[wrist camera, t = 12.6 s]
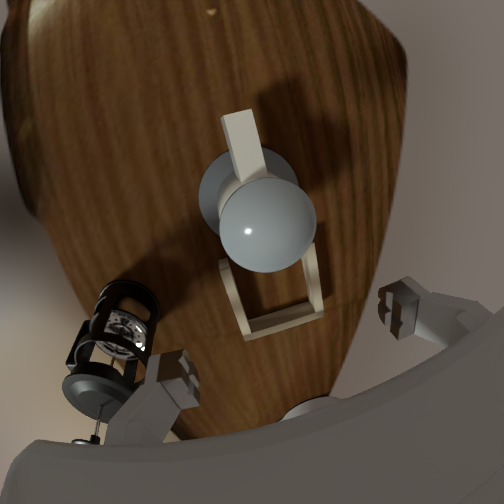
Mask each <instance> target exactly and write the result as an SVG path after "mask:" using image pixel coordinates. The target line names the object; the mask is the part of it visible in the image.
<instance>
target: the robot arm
mask: <svg viewBox="0 0 504 504" xmlns="http://www.w3.org/2000/svg"><path fill="white" fill-rule="evenodd" d="M378 297H379V298H380V299H381V301H380V302H379V304H378V313H379V317H380V319H381V321H382V322H383V323H384V325H387V326H389V327H390V332H391V333H392V334H393V335H394V336H395V338H396V339H397V340H401V339H402V338H405V337H407V336H409V335H411V334H413V333H414V334H415V335H417V336H420V337H422V338H425V339H427V340H429V341H432V342H434V343H436V344H439V345H441V346H444V347H446V348H445V349H444V350H442V351H441V352H439V353H438V354H436V355H434V356H433V357H431V358H429V359H427V360H426V361H424V362H422V363H420V364H419V365H417V366H415V367H413V368H411V369H409V370H407V371H406V372H404V373H402V374H400V375H398V376H396V377H394V378H392V379H390V380H388V381H386V382H384V383H382V384H379V385H377V386H375V387H373V388H371V389H368V390H367V391H364V392H362V393H359V394H357V395H355V396H352V397H350V398H347V399H339V398H336V397H320V398H316V399H312V400H309V401H307V402H304V403H302V404H300V405H298V406H296V407H295V408H293V409H292V410H290V411H289V412H288V413H287V414H286V415H285V416H284V418H283V419H282V420H280V421H278V422H276V423H273V424H269V425H265V426H261V427H257V428H253V429H248V430H244V431H239V432H235V433H230V434H224V435H219V436H213V437H207V438H201V439H194V440H186V441H177V442H169V443H163V440H164V439H165V437H166V435H167V434H168V432H169V430H170V428H171V427H172V425H173V423H174V421H175V420H176V418H177V416H178V415H179V413H180V411H181V410H180V409H185V408H191V407H196V406H200V393H199V391H198V389H197V387H198V386H199V376H198V372H197V369H196V367H195V365H194V363H192V362H190V361H189V354H188V352H187V351H186V350H185V349H182V350H177V351H172V352H167V353H162V354H157V355H152V356H150V357H149V360H148V365H147V371H146V376H145V382H144V385H141V386H140V387H139V388H138V389H137V390H136V391H135V392H134V394H133V395H132V396H131V397H130V398H129V399H128V400H127V401H126V403H125V404H124V405H123V406H122V407H121V408H120V409H119V411H118V412H117V413H116V414H115V415H114V416H113V417H112V418H111V420H110V421H109V422H108V426H107V431H106V436H105V442H104V445H92V444H75V443H63V442H54V441H47V440H35V441H34V442H32V443H31V444H30V445H28V446H27V447H26V448H25V449H24V450H23V451H22V452H21V453H20V454H19V455H18V456H17V457H16V458H15V459H14V460H13V462H12V464H11V465H10V468H9V470H8V473H7V476H6V479H5V482H4V485H3V489H2V492H1V496H0V504H504V307H502V308H501V309H500V310H499V311H498V312H496V313H495V314H494V315H493V314H492V313H491V312H490V311H489V310H487V309H486V308H485V307H484V306H482V305H481V304H480V303H479V302H477V301H472V300H468V299H463V298H459V297H454V296H449V295H444V294H440V293H435V292H432V293H430V292H429V291H427V290H426V289H425V288H424V287H422V286H421V285H420V284H419V283H417V282H416V281H415V280H413V279H412V278H411V277H409V276H407V277H405V278H402V279H400V280H399V281H396V282H394V283H391V284H389V285H387V286H385V287H382V288H379V291H378Z"/></svg>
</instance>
